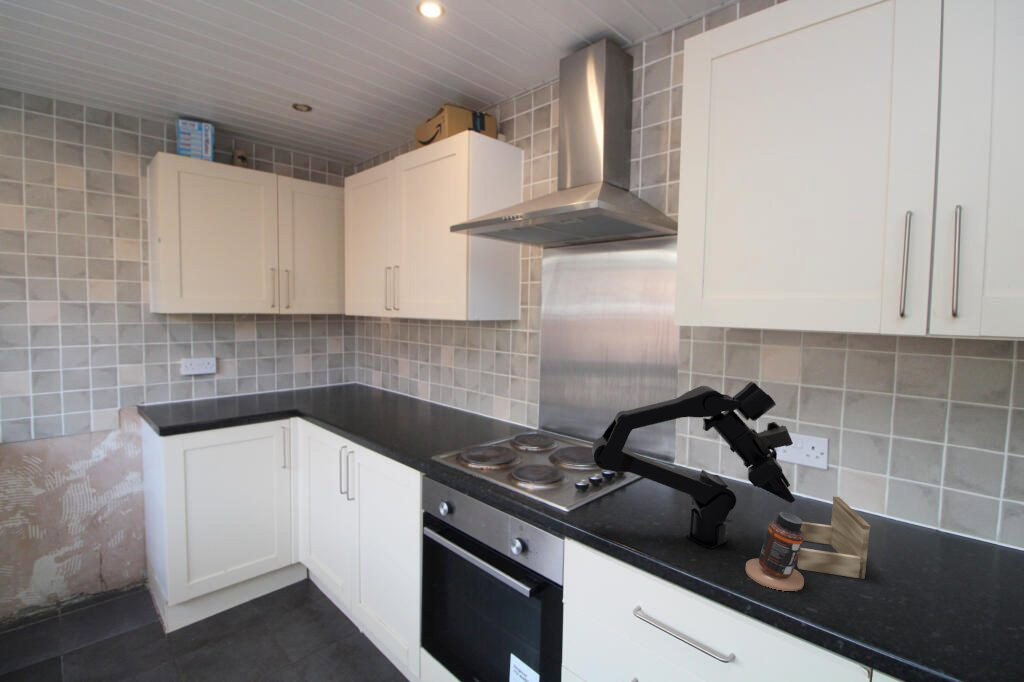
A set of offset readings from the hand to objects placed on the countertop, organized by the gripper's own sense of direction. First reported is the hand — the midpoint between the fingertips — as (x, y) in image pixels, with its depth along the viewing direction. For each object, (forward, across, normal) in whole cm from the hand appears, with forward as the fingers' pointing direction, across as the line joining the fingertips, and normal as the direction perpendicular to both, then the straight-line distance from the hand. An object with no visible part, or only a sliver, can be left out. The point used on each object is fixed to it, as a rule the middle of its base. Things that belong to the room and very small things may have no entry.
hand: (790, 493), depth 102 cm
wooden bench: (+14, +4, +5) cm, 15 cm away
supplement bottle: (+7, -11, +11) cm, 17 cm away
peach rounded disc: (+8, -11, +12) cm, 17 cm away
